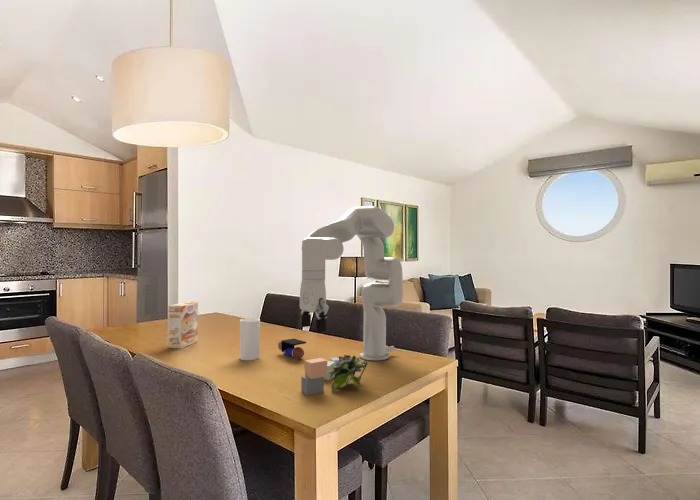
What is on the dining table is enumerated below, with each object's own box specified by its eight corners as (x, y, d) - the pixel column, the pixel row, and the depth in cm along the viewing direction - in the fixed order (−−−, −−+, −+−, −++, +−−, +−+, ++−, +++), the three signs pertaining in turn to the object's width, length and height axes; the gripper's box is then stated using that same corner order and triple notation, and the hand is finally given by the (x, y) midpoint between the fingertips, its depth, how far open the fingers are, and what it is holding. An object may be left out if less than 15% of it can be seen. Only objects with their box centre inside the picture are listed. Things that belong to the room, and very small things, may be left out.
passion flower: (343, 401, 146) (356, 364, 152) (367, 404, 137) (380, 365, 143) (317, 385, 140) (331, 348, 147) (340, 388, 131) (355, 347, 138)
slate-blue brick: (345, 370, 162) (345, 357, 162) (348, 373, 158) (348, 359, 158) (330, 371, 161) (330, 357, 160) (332, 374, 157) (332, 360, 157)
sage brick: (325, 374, 156) (325, 360, 156) (335, 375, 155) (335, 361, 155) (318, 378, 151) (318, 364, 151) (328, 380, 149) (329, 366, 149)
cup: (263, 356, 180) (264, 318, 180) (251, 361, 173) (251, 321, 173) (248, 354, 184) (248, 317, 184) (235, 358, 176) (235, 320, 176)
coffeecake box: (181, 348, 193) (182, 305, 193) (167, 348, 194) (167, 305, 194) (198, 341, 208) (198, 301, 208) (185, 341, 209) (185, 301, 209)
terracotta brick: (321, 372, 141) (321, 357, 141) (327, 375, 138) (327, 360, 138) (304, 375, 138) (305, 360, 138) (310, 379, 134) (311, 363, 134)
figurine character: (277, 357, 185) (293, 361, 173) (276, 339, 186) (292, 341, 174) (291, 355, 189) (308, 358, 177) (290, 337, 190) (307, 339, 178)
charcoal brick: (317, 388, 140) (317, 373, 140) (323, 392, 137) (323, 376, 137) (301, 391, 137) (301, 376, 137) (307, 395, 134) (307, 379, 134)
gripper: (291, 274, 142) (290, 325, 142) (316, 278, 128) (316, 335, 128) (310, 274, 146) (310, 323, 146) (337, 277, 132) (337, 332, 132)
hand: (313, 329), depth 137 cm, fingers open, 9 cm apart
